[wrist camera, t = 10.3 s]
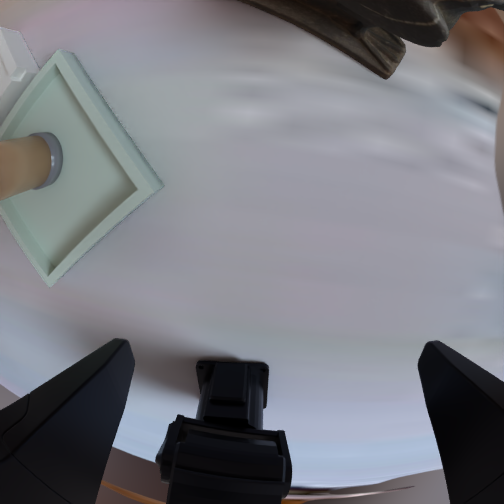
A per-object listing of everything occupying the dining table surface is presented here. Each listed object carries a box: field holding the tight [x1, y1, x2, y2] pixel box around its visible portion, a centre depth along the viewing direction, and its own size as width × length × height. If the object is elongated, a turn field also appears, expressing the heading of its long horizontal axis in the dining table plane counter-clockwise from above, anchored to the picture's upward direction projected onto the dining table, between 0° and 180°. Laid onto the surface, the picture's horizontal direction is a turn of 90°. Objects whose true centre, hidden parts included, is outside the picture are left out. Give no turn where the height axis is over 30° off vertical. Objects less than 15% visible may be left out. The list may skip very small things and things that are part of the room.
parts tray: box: [0, 49, 164, 288], centre depth 18 cm, size 14×14×2 cm
